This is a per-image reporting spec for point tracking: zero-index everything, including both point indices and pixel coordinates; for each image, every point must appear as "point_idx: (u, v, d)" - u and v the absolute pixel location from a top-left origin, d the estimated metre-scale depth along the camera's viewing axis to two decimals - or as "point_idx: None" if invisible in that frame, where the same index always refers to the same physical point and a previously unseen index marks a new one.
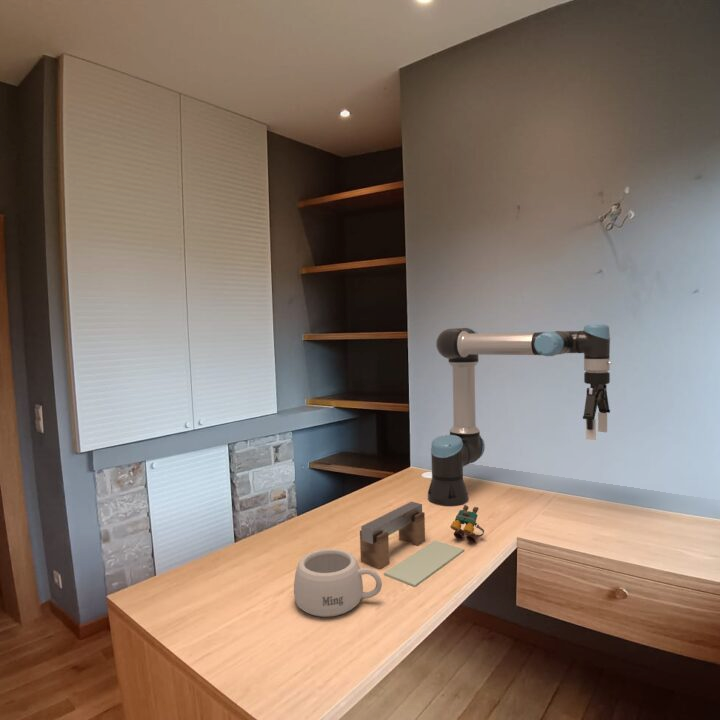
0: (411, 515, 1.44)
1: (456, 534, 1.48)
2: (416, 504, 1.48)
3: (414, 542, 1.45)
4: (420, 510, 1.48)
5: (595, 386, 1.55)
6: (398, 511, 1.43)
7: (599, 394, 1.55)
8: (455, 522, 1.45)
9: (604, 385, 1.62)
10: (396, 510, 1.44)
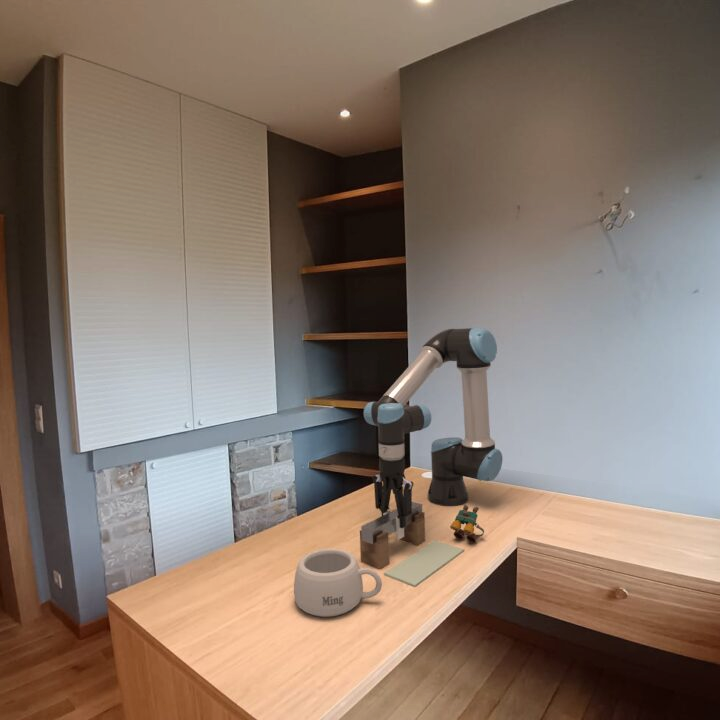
0: (411, 515, 1.44)
1: (456, 534, 1.48)
2: (416, 504, 1.48)
3: (414, 542, 1.45)
4: (420, 510, 1.48)
5: None
6: None
7: (383, 483, 1.40)
8: (455, 522, 1.45)
9: None
10: (396, 510, 1.44)
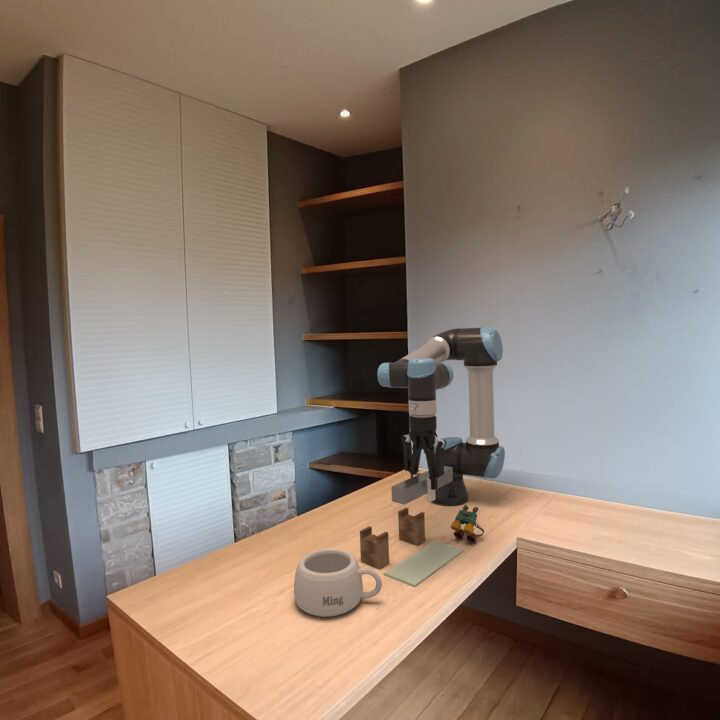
0: (442, 478, 1.36)
1: (456, 534, 1.48)
2: (446, 467, 1.40)
3: (414, 542, 1.45)
4: (450, 473, 1.39)
5: None
6: (428, 473, 1.34)
7: None
8: (455, 522, 1.45)
9: (439, 441, 1.27)
10: (426, 472, 1.35)
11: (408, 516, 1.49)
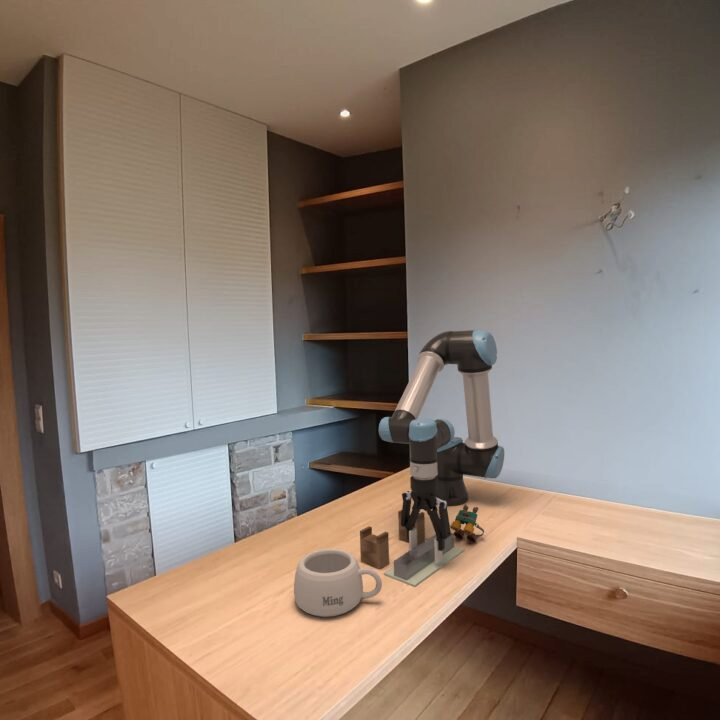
0: None
1: (456, 534, 1.48)
2: None
3: None
4: (452, 540, 1.41)
5: None
6: (430, 543, 1.36)
7: (414, 502, 1.33)
8: (455, 522, 1.45)
9: (440, 502, 1.28)
10: (428, 541, 1.37)
11: None
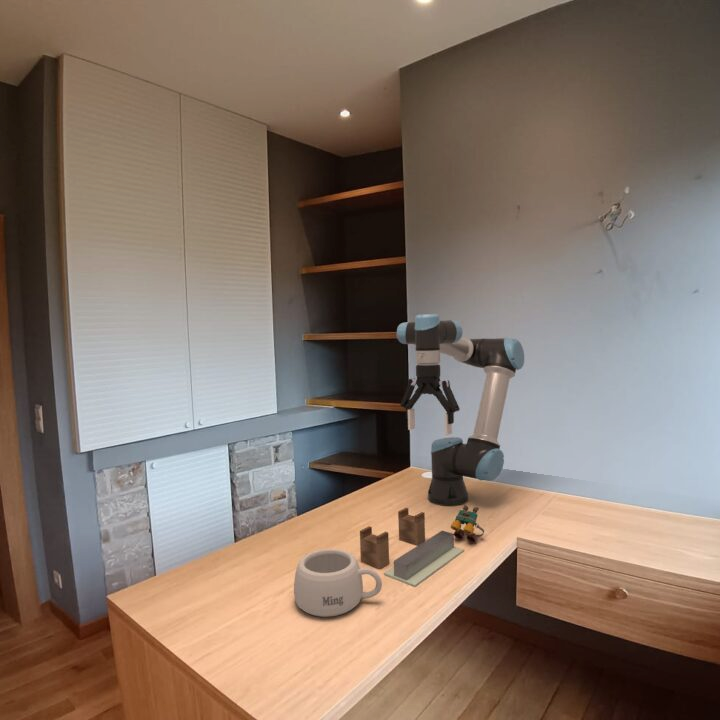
0: (444, 546, 1.37)
1: (456, 534, 1.48)
2: (447, 533, 1.42)
3: (414, 542, 1.45)
4: (452, 540, 1.41)
5: None
6: (430, 543, 1.36)
7: (418, 387, 1.50)
8: (455, 522, 1.45)
9: None
10: (428, 541, 1.37)
11: (408, 516, 1.49)
